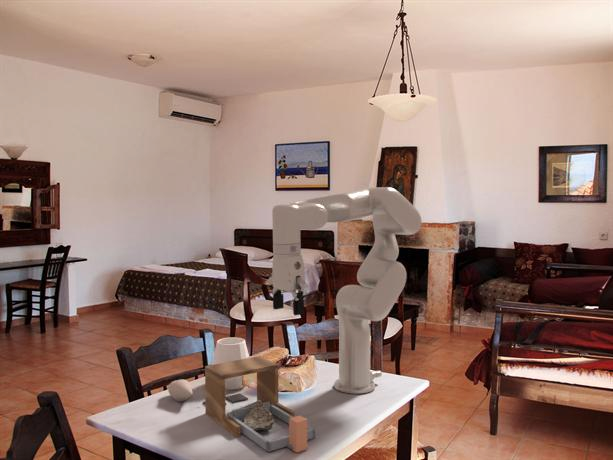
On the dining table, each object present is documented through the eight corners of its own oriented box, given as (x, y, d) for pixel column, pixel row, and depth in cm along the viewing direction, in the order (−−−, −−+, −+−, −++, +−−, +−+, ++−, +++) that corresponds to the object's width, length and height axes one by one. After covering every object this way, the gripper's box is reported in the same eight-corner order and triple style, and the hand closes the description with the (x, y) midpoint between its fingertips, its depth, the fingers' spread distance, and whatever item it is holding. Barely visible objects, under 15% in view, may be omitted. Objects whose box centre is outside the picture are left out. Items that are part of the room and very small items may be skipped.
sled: (272, 411, 150) (271, 386, 149) (324, 443, 130) (325, 414, 130) (228, 422, 142) (228, 396, 142) (277, 458, 122) (277, 427, 122)
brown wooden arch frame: (247, 392, 165) (247, 350, 164) (294, 420, 144) (294, 372, 143) (194, 405, 155) (193, 359, 154) (236, 436, 134) (236, 384, 134)
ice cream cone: (192, 410, 151) (173, 402, 163) (207, 392, 154) (187, 386, 166) (177, 395, 149) (159, 389, 162) (192, 377, 152) (173, 372, 165)
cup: (225, 395, 163) (225, 348, 162) (201, 384, 173) (200, 340, 172) (261, 385, 172) (261, 341, 171) (236, 375, 182) (236, 333, 181)
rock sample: (225, 412, 140) (251, 389, 141) (240, 423, 145) (265, 400, 146) (244, 443, 132) (271, 417, 133) (258, 453, 138) (285, 428, 139)
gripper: (317, 251, 146) (318, 314, 147) (280, 246, 160) (281, 304, 161) (294, 253, 141) (295, 319, 142) (258, 248, 155) (260, 308, 156)
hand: (288, 311), depth 152 cm, fingers open, 9 cm apart
